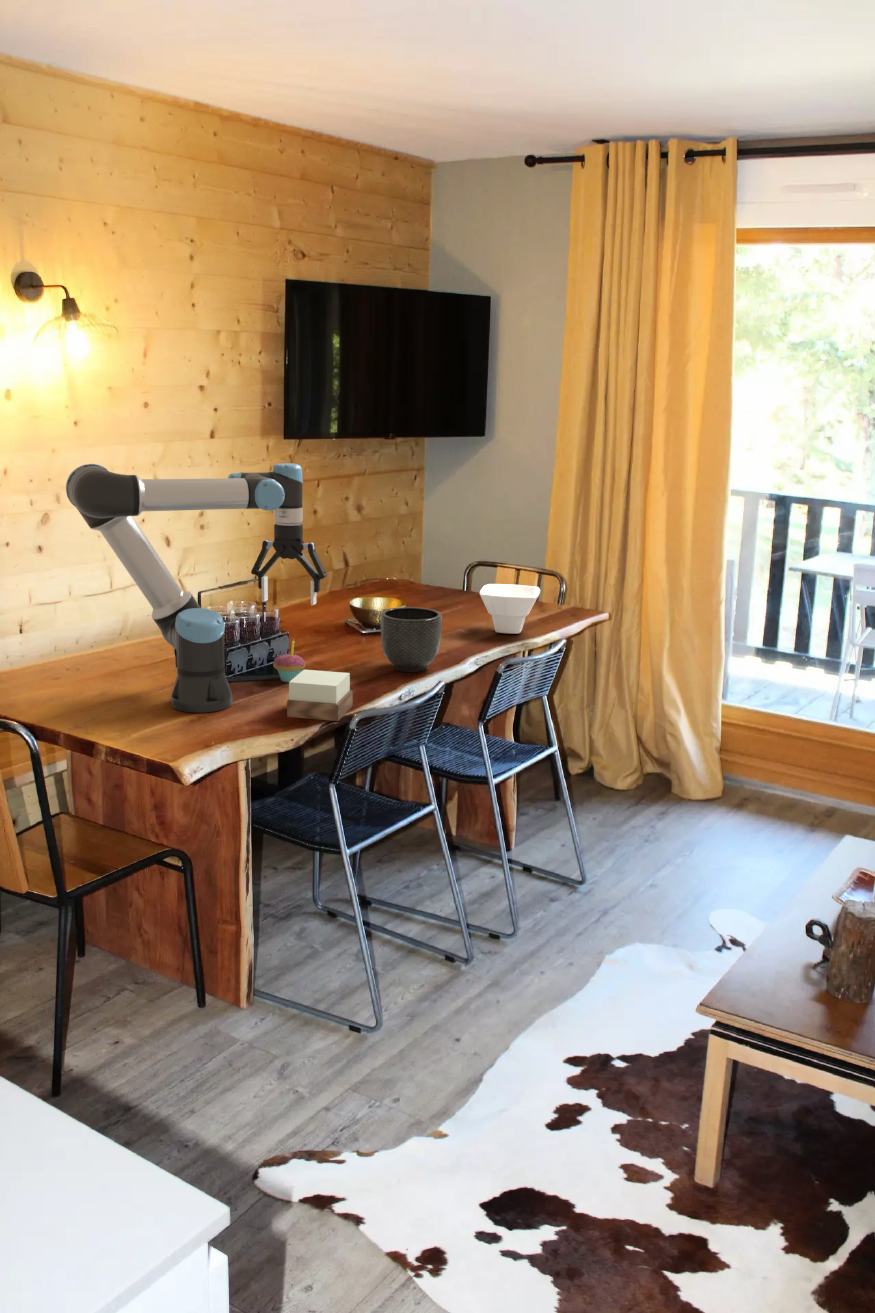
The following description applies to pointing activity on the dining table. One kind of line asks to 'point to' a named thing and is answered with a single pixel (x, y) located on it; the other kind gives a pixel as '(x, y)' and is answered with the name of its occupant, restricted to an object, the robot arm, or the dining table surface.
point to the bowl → (509, 605)
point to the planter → (411, 637)
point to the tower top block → (319, 686)
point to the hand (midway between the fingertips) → (289, 602)
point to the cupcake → (289, 665)
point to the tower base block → (320, 708)
